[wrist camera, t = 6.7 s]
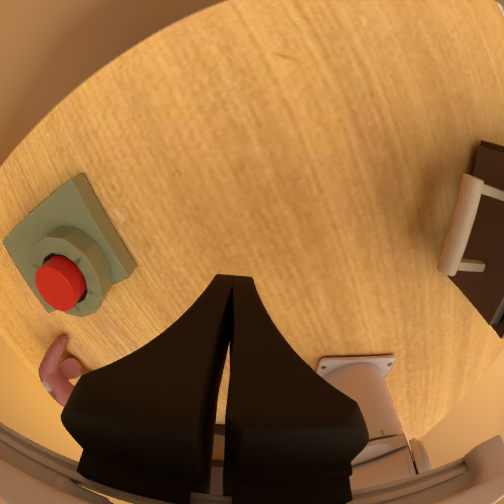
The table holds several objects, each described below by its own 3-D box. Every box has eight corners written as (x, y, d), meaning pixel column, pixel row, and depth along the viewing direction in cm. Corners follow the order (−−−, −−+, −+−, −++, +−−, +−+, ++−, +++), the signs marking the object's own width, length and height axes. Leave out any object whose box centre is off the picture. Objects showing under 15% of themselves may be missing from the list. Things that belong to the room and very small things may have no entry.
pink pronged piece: (58, 333, 26) (29, 379, 22) (60, 330, 23) (27, 382, 19) (124, 383, 30) (99, 428, 25) (135, 386, 26) (107, 437, 22)
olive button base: (84, 172, 17) (55, 185, 14) (142, 273, 21) (126, 300, 17) (12, 233, 19) (-11, 250, 16) (61, 309, 23) (44, 332, 20)
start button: (66, 246, 16) (52, 259, 15) (94, 289, 18) (83, 304, 16) (40, 264, 17) (27, 276, 15) (66, 302, 18) (55, 316, 17)
